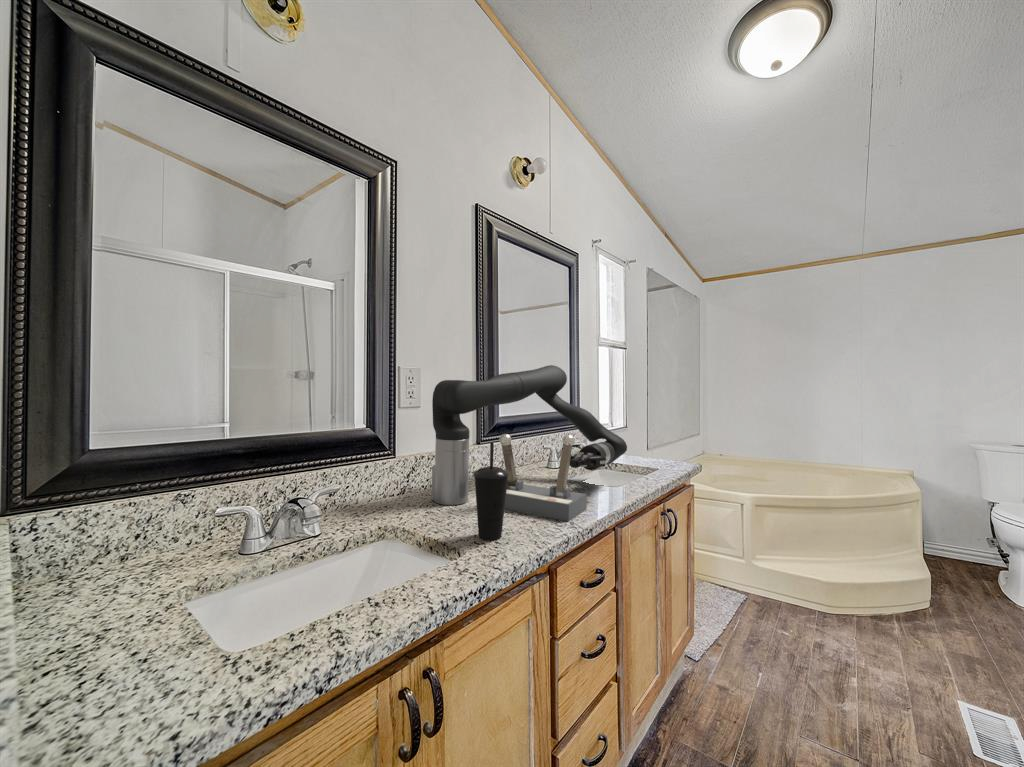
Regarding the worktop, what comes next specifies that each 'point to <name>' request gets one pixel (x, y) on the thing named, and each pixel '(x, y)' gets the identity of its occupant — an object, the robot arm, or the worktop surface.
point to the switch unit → (545, 501)
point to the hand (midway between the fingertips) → (573, 464)
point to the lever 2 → (564, 463)
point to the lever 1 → (508, 458)
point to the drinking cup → (490, 499)
